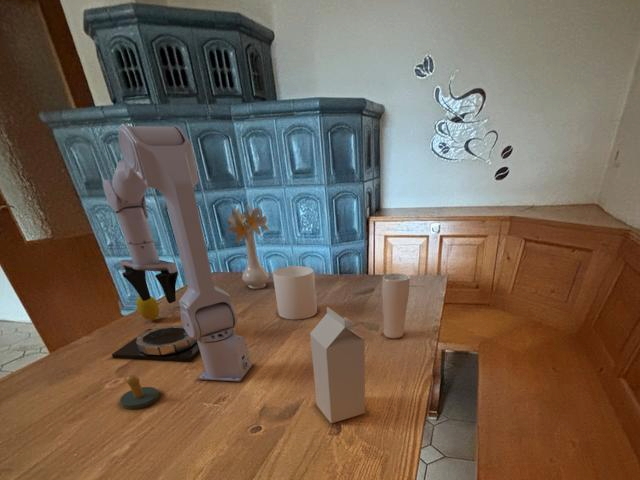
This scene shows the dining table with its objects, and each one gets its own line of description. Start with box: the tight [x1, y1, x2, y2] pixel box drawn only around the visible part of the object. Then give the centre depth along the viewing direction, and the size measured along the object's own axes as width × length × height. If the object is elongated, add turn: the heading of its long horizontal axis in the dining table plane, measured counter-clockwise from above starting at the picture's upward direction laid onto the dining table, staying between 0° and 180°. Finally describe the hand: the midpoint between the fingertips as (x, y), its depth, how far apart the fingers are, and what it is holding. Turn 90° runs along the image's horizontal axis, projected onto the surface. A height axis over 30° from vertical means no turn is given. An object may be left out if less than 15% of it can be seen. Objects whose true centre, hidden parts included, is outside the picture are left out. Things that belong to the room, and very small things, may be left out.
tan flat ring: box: [136, 324, 197, 355], centre depth 96 cm, size 13×13×2 cm
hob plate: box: [111, 328, 201, 363], centre depth 98 cm, size 20×16×1 cm
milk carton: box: [309, 306, 366, 424], centre depth 68 cm, size 7×7×19 cm
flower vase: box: [226, 204, 270, 290], centre depth 130 cm, size 13×18×25 cm
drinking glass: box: [381, 272, 411, 339], centre depth 98 cm, size 7×7×15 cm
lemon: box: [135, 295, 160, 322], centre depth 110 cm, size 6×6×8 cm
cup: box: [272, 265, 318, 321], centre depth 113 cm, size 12×12×12 cm
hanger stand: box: [119, 374, 160, 410], centre depth 76 cm, size 7×7×6 cm
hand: (159, 300), depth 97 cm, fingers open, 7 cm apart
